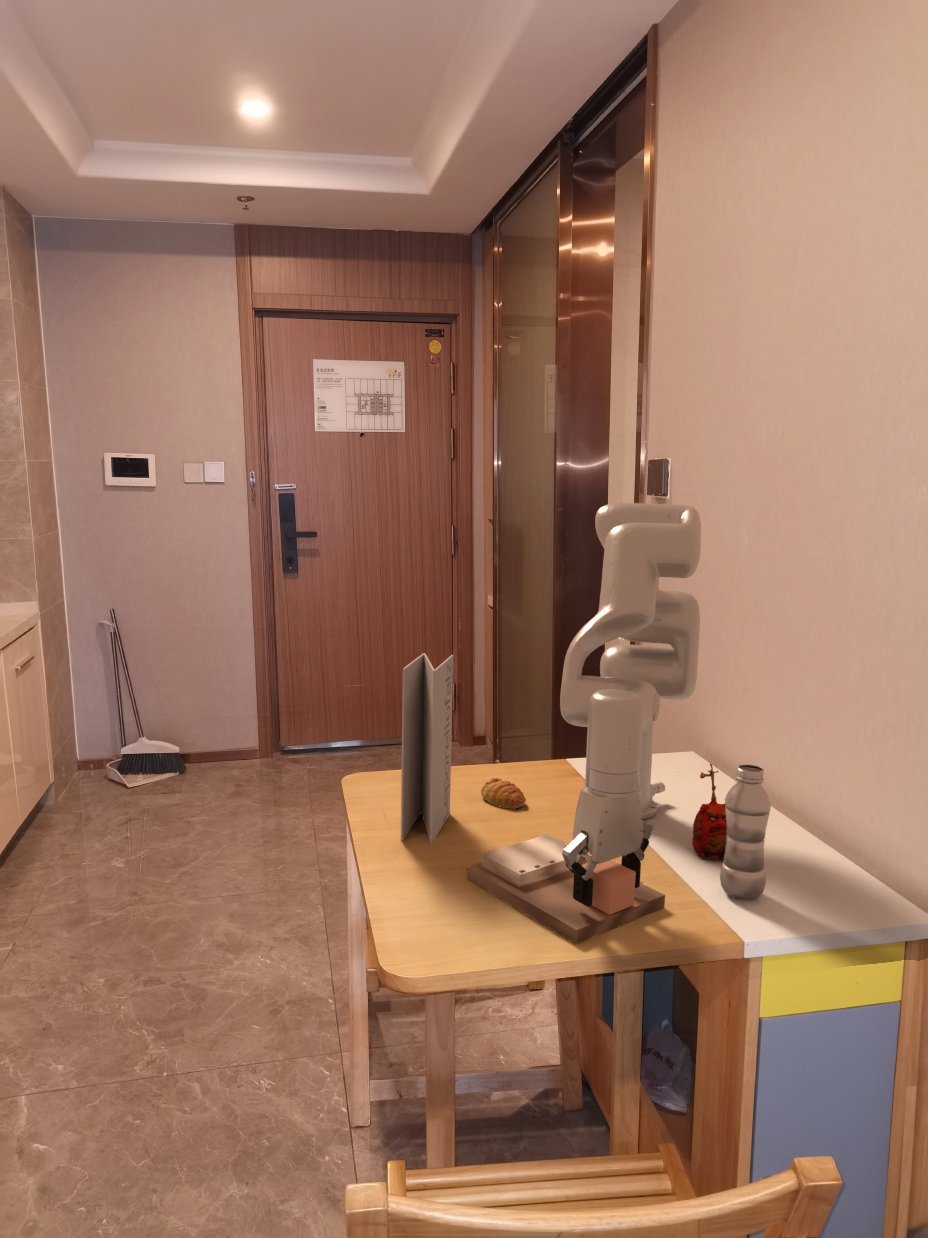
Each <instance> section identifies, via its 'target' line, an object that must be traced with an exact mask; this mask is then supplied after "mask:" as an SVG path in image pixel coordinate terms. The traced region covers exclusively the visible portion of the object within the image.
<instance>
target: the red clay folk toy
mask: <svg viewBox="0 0 928 1238" xmlns="http://www.w3.org/2000/svg"><path fill="white" fill-rule="evenodd" d="M709 765H710V770H707V772H708V773H704V772H700V776H699V778H700V779H704V778H706V777H710V780H711V791H712V793H711V797H710V802H709V803H702V804H701V806H700V808H699V810H698V811H697V813H696V815H695V817H694V820H693V824H692V838H691V839H692V840H691V843H692V844H691V845H692V849H693V850H694V852H695V854H696V855H697V857H698V858H701V859H707V860H714V861H715V860H722V861H724V855H725V848H726V842H727V820H726V809H725V803H718V801H717V796H716V793H715V791H716V788H717V786H716V785H715V774H717V773H719V770H717V771H714V769H713V768H714V767H713V764H712V763H709Z"/></svg>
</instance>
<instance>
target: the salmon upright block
mask: <svg viewBox="0 0 928 1238" xmlns="http://www.w3.org/2000/svg"><path fill="white" fill-rule="evenodd" d="M587 864H588V863H586V864H583V865H582V867H583V868H584V869H585V868H586V866H587ZM635 877H636V872H635V871H633V870H631V869H629V868H627V867H624V866H622V865H621V863H619V862H616V861H614V860H613V859H612V860H609V861H606V862H603V863H600V864H597V865H596V867H595V869H594V871H593V873H592V874H591V876H590V878H591V879H593V897H592V906H594V907H596V908H598V909H600V910H602V911H603V912H605V913H607V914H609V915H610V914H613V913H615V912H618V911H620V910H623V909H625V908H628V907H630V906H633V905H634V895H635Z"/></svg>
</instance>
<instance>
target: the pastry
mask: <svg viewBox="0 0 928 1238" xmlns="http://www.w3.org/2000/svg"><path fill="white" fill-rule="evenodd" d="M480 793H481V794H480V795H481V796H482V798H483V800H484V801H487V802H488V803H489V804H491V805H494V806H496V805H497V806H496V807H499V806H501V807H500V808H503V807H504V808H503V809H512V810H514V809H517V808H520V807H523V806H524V805H525V804H526V801H527V799H526V797H525V796H524V792H522V791H521V789H520V788H519V787H517V785H516V784H515V783H511V781H509V780H503V779H501V778H497V777H494V778H493V777H492V778H491V779H489V780H488V781H486V782H485V783H484V784H483V786H482V788H481V790H480Z"/></svg>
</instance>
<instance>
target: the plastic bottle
mask: <svg viewBox="0 0 928 1238" xmlns="http://www.w3.org/2000/svg"><path fill="white" fill-rule="evenodd" d="M736 772H737V773H736V776H735V779H736V780H737V782H736V783H735V784H734V785H732V787H731V788H730V789H729V790H728V792H726V796H725V798H724V804H725V809H726V820H727V842H726V848H725V855H724V860H722V861H723V862H722V863H721V868H720V872H719V877H720V878H719V880H720V886H721V888H722V889H723V891H724V893H726V894H727V895H729V896H731V897H733V898H737V899H741V900H756V899H758V898H760V897H761V896H762V895H763V894H764V892H765V889H766V885H767V876H766V870H765V868H766V867H765V852H764V851H765V848H764V847H765V839H766V831H767V826H768V822H769V817H770V812H771V809H772V808H771V807H772V804H771V799H770V797H769V795H768V793H767V791H766V790H765V788H764V787H763V785H762V783H764V780H765V779H764V774H765V773H764V772H765V771H764V768H763V767H761V766H759V765H755V764H745V763H744V764H739V765H738V766H737V771H736Z"/></svg>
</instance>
